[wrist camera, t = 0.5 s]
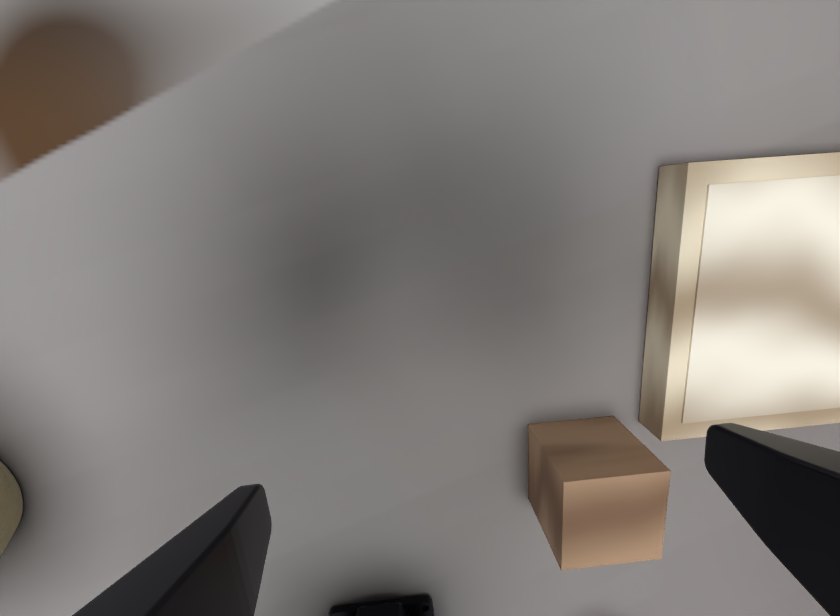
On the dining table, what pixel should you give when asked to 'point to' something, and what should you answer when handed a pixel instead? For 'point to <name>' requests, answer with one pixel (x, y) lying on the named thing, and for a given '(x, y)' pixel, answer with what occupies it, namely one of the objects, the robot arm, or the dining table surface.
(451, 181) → the dining table surface
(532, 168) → the dining table surface
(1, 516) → the plant pot
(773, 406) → the board
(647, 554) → the cube
